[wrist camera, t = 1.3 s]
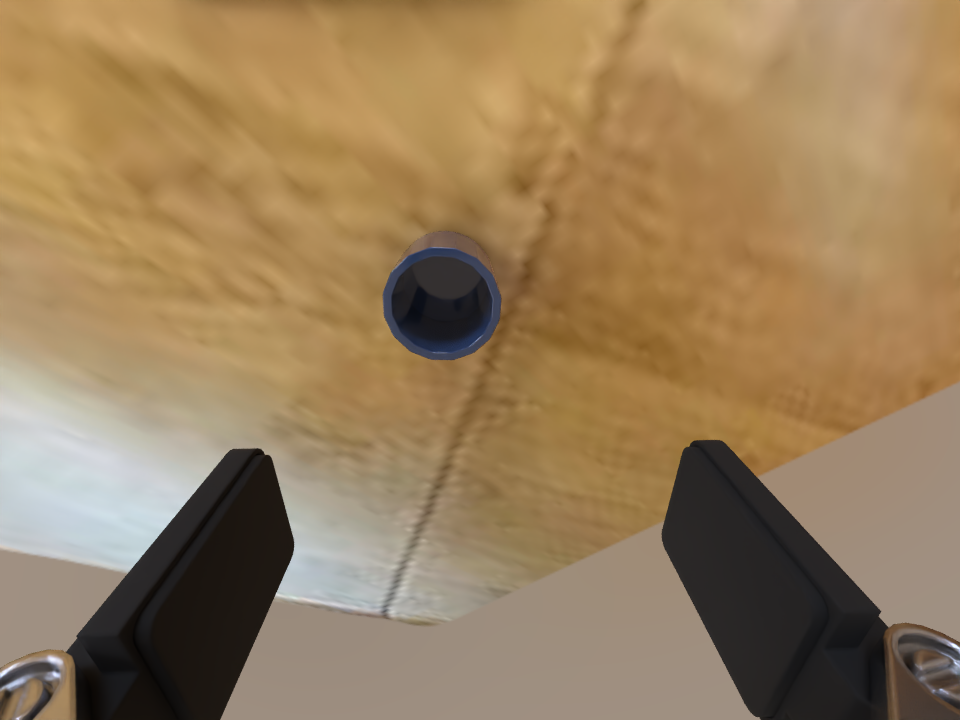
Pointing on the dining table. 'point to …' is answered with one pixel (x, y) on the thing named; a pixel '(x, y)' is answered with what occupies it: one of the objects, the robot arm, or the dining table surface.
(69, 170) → the dining table surface
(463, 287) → the blue plastic cup
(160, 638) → the robot arm
